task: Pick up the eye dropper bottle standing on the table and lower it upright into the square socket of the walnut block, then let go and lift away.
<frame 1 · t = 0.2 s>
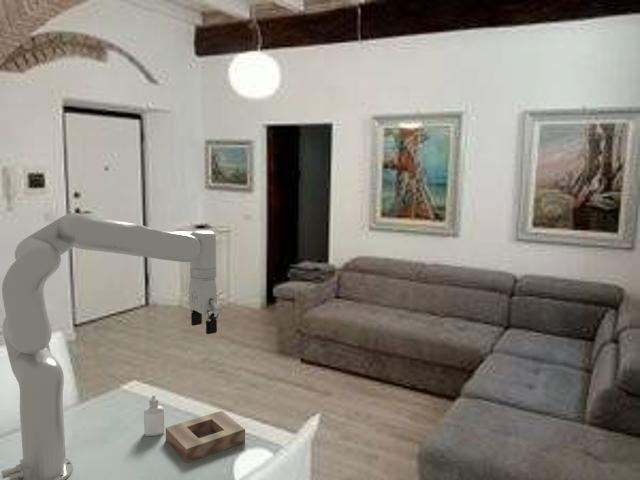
hand: (203, 328, 157), 30 cm above the table, tool pointing down, fingers open, 9 cm apart
socket block: (205, 441, 152), on the table
eye dropper bottle: (154, 433, 155), on the table
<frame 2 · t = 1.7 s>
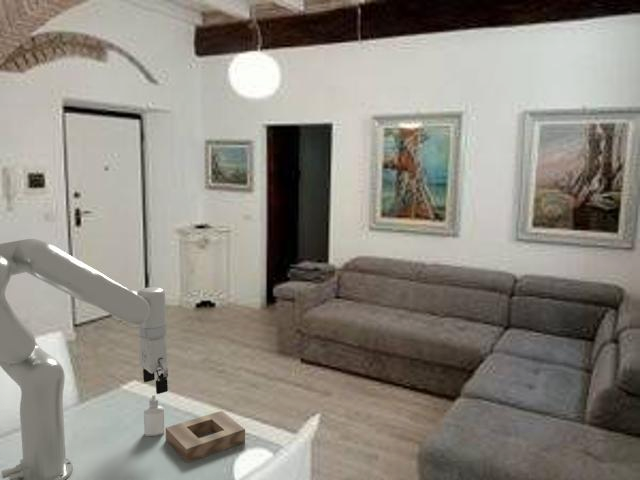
hand: (155, 386, 154), 14 cm above the table, tool pointing down, fingers open, 9 cm apart
nothing on the table moved.
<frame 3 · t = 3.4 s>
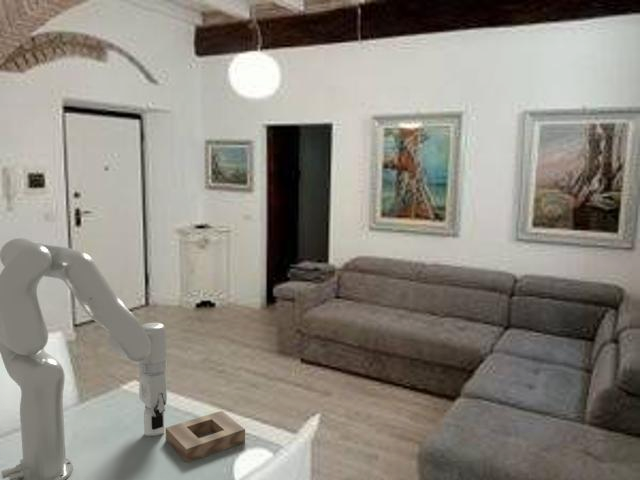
hand: (154, 424, 155), 3 cm above the table, tool pointing down, fingers closed on eye dropper bottle, 3 cm apart
eye dropper bottle: (154, 433, 155), on the table, touching gripper
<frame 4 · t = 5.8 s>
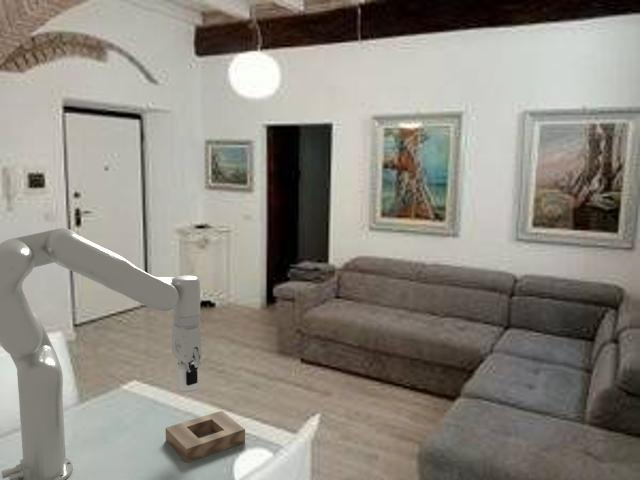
hand: (188, 380, 150), 18 cm above the table, tool pointing down, fingers closed on eye dropper bottle, 3 cm apart
eye dropper bottle: (188, 390, 151), point 15 cm above the table, touching gripper
when the fingers open (4 cm above the table, at t = 8.5 s): eye dropper bottle stays where it is, resting in socket block.
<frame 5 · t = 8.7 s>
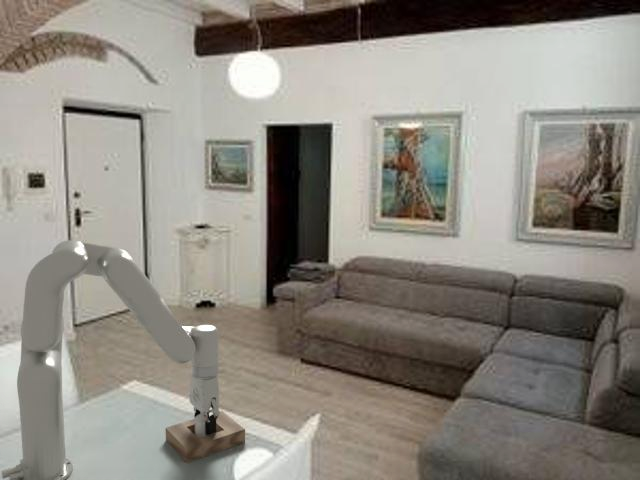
hand: (205, 428, 151), 4 cm above the table, tool pointing down, fingers open, 6 cm apart
eye dropper bottle: (205, 442, 152), resting in socket block
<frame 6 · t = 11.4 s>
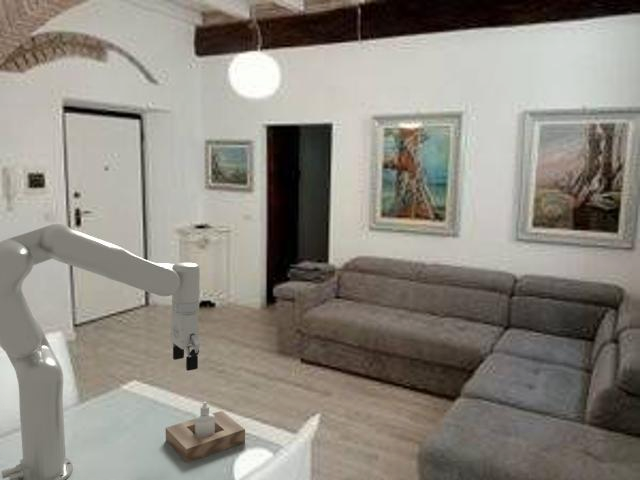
hand: (185, 364, 151), 22 cm above the table, tool pointing down, fingers open, 9 cm apart
nothing on the table moved.
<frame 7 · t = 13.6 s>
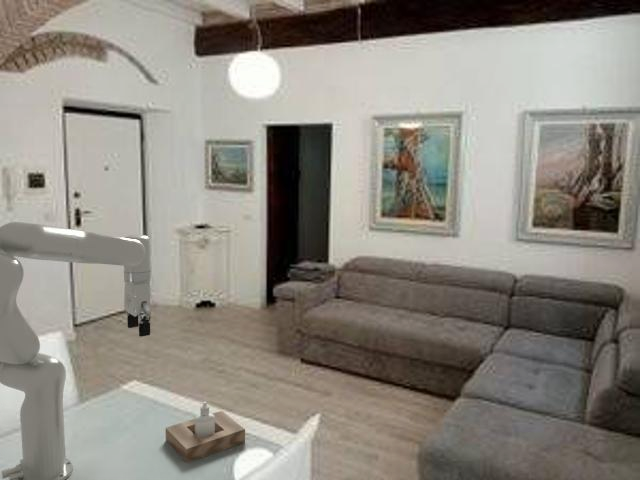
hand: (138, 331, 160), 28 cm above the table, tool pointing down, fingers open, 9 cm apart
nothing on the table moved.
at the end: eye dropper bottle 0.1 cm off-centre on the socket block, point 0.0 cm above the socket block's base; eye dropper bottle tilted 0°; the gripper is holding nothing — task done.
